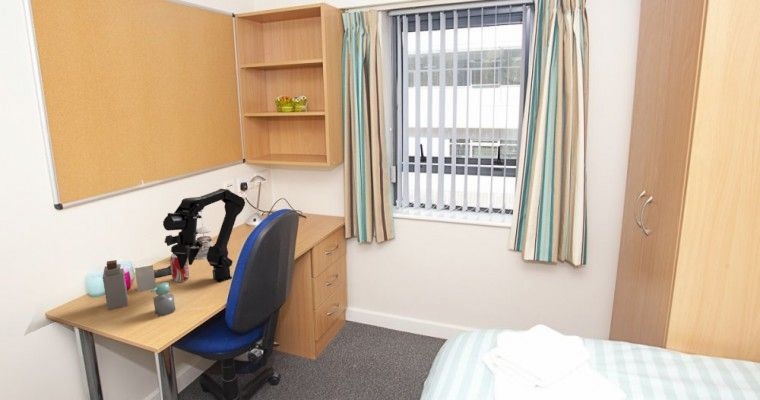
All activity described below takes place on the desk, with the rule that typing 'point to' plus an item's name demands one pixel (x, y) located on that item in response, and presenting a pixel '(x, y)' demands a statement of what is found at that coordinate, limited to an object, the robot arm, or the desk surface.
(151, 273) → the grey rectangular block
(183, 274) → the soda can
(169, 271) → the calculator
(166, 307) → the grey rounded lump
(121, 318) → the desk surface
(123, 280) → the perfume bottle
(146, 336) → the desk surface
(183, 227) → the robot arm
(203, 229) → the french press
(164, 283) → the pump head
